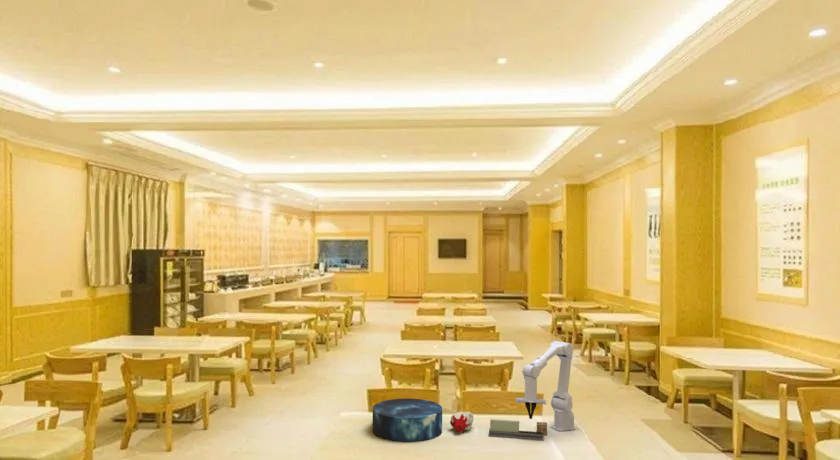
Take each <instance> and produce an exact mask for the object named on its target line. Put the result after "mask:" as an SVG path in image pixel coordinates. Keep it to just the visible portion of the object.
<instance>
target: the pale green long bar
mask: <svg viewBox="0 0 840 460" xmlns="http://www.w3.org/2000/svg"><path fill="white" fill-rule="evenodd" d="M489 420H490V421H489V429H490V431H503V432H516V433H519V431H520V420H516V419H515V420H514V419H513V420H512V419H498V418H490V419H489Z"/></svg>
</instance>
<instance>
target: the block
mask: <svg viewBox="0 0 840 460" xmlns="http://www.w3.org/2000/svg"><path fill="white" fill-rule="evenodd" d="M536 432H543V436H547V437H548V422H545V421H544V422H543V421H536Z"/></svg>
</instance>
